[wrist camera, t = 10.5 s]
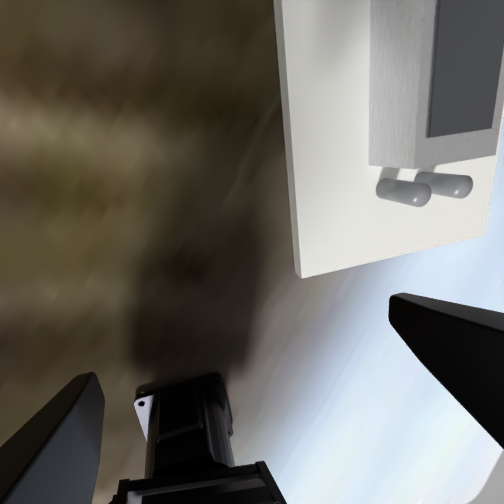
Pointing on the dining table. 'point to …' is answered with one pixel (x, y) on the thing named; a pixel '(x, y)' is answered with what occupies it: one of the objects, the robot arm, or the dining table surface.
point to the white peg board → (357, 153)
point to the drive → (435, 81)
